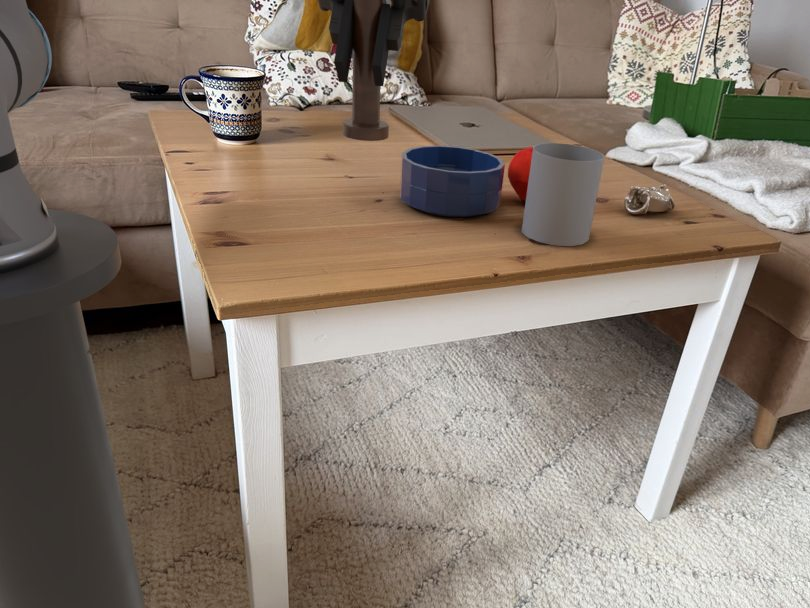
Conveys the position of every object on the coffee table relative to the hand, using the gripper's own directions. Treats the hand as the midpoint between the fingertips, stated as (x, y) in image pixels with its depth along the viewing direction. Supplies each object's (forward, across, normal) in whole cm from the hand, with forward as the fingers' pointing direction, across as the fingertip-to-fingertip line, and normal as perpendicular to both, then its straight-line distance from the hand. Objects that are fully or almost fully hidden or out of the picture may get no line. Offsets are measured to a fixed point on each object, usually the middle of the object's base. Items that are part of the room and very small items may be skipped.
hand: (359, 73), depth 59 cm
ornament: (-8, -35, -35) cm, 50 cm away
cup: (+1, -22, -25) cm, 33 cm away
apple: (-8, -19, -34) cm, 40 cm away
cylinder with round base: (+2, 0, -7) cm, 7 cm away
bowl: (-4, -8, -30) cm, 32 cm away
